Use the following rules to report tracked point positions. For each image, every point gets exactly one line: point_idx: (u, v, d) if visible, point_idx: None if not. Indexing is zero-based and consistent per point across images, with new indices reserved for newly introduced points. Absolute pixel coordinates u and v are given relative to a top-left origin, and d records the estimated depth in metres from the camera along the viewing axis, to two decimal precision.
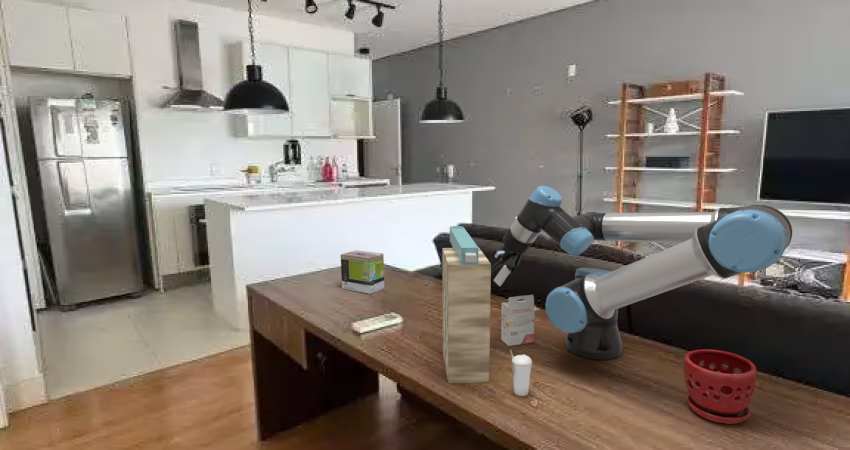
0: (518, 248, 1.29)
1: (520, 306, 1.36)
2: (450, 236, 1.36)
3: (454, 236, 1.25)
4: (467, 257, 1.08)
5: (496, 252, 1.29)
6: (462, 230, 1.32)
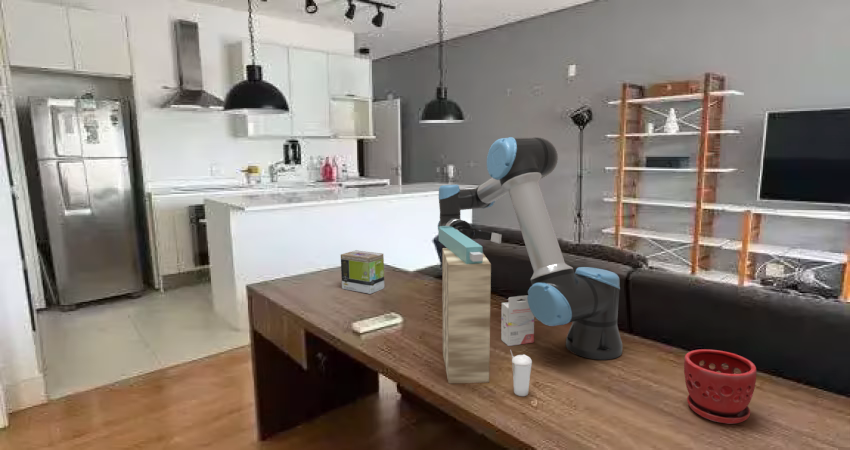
0: (453, 222, 1.59)
1: (520, 306, 1.36)
2: (440, 236, 1.36)
3: (449, 236, 1.25)
4: (474, 256, 1.09)
5: None
6: (453, 230, 1.33)
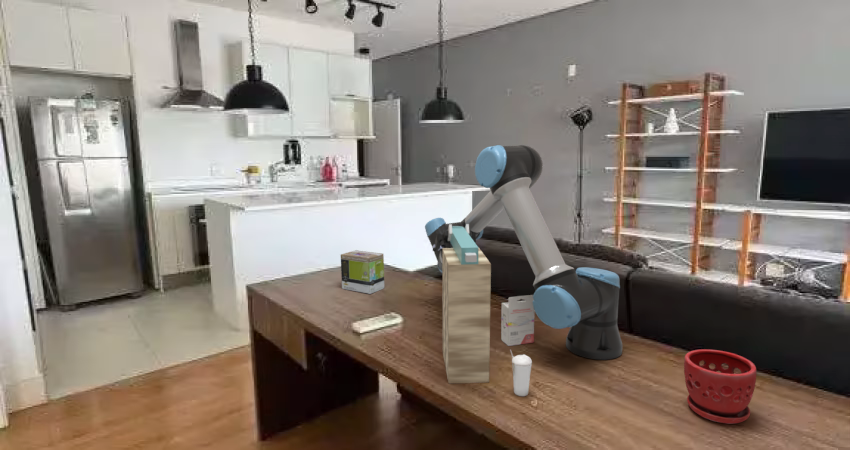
0: None
1: (520, 306, 1.36)
2: None
3: (454, 236, 1.25)
4: (467, 257, 1.08)
5: None
6: (462, 230, 1.32)
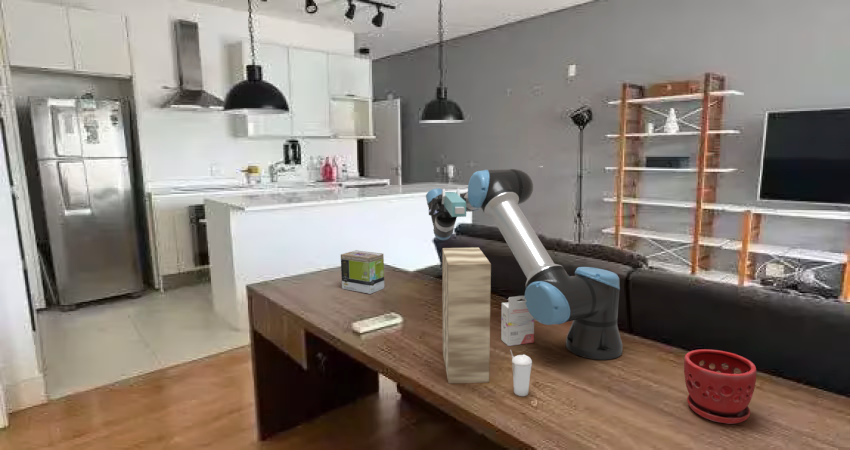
0: None
1: (520, 306, 1.36)
2: None
3: (446, 197, 1.45)
4: (456, 209, 1.28)
5: None
6: (454, 194, 1.53)
